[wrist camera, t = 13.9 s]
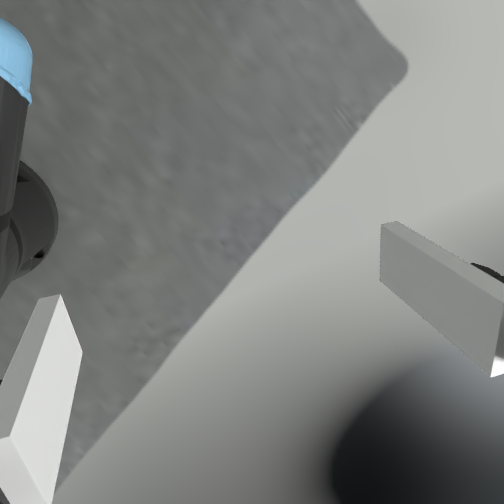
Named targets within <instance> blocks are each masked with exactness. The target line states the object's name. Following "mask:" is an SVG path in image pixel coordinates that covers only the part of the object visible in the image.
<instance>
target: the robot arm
mask: <svg viewBox="0 0 504 504" xmlns="http://www.w3.org/2000/svg"><path fill="white" fill-rule="evenodd" d="M31 70H32V51H31V48H30V46H29V44H28V42H27V40H26V39H25V37H24V36H23V35H22V34H21V32H20V31H19V30H18V29H17V28H16V27H14V26H13V25H12V24H10V23H9V22H7V21H6V20H4V19H3V18H1V17H0V298H1V297H2V295H3V293H4V292H5V290H6V288H7V287H8V285H9V284H10V282H11V281H12V280H15V279H17V278H19V277H21V276H23V275H25V274H27V273H29V272H30V271H32V270H33V269H34V268H35V267H36V266H38V265H39V264H40V263H41V262H42V260H43V259H44V258H45V257H46V255H47V254H48V252H49V250H50V248H51V246H52V244H53V243H54V240H55V237H56V234H57V230H58V212H57V207H56V204H55V201H54V199H53V196H52V194H51V192H50V191H49V189H48V187H47V186H46V184H45V183H44V182H43V180H42V179H41V178H40V177H39V176H38V175H37V174H36V173H35V172H34V171H33V170H32V169H31V168H29V167H28V166H27V165H25V164H24V163H22V162H21V161H20V155H21V148H22V141H23V135H24V128H25V121H26V115H27V108H28V105H30V104H31V102H32V99H31V94H30V93H29V90H30V80H31ZM380 281H381V282H383V284H385V285H386V286H387V287H388V288H389V289H390V290H391V291H393V292H394V293H395V294H396V295H397V296H398V297H399V298H401V299H402V300H403V301H404V302H405V303H406V304H407V305H409V306H410V307H411V308H412V309H413V310H414V311H415V312H417V313H418V314H419V315H420V316H421V317H422V318H423V319H425V320H426V321H427V322H428V323H429V324H430V325H431V326H433V327H434V328H435V329H436V330H437V331H438V332H439V333H440V334H442V335H443V336H444V337H445V338H446V339H447V340H449V341H450V342H451V343H452V344H453V345H454V346H456V347H457V348H458V349H459V350H460V351H461V352H462V353H463V354H464V355H466V356H467V357H468V358H469V359H470V360H471V361H473V362H474V363H475V364H476V365H477V366H478V367H479V368H480V369H482V370H483V371H484V372H485V373H486V374H487V375H488V376H490V377H494V376H497V375H500V374H503V373H504V276H501V275H500V274H499V273H497V272H495V271H493V270H491V269H490V268H488V267H484V266H481V265H478V264H475V263H470V264H469V263H468V262H466V261H464V260H462V259H461V258H459V257H458V256H456V255H454V254H453V253H451V252H449V251H447V250H446V249H444V248H442V247H441V246H439V245H437V244H435V243H434V242H432V241H430V240H429V239H427V238H425V237H423V236H422V235H420V234H418V233H417V232H415V231H413V230H411V229H409V228H408V227H406V226H405V225H403V224H401V223H400V222H398V221H395V222H390V223H385V224H382V225H381V242H380ZM82 353H83V352H82V350H81V347H80V344H79V342H78V339H77V336H76V334H75V331H74V328H73V326H72V323H71V321H70V318H69V315H68V313H67V310H66V307H65V305H64V302H63V299H62V297H61V294H59V295H54V296H50V297H45V298H40V299H39V300H38V302H37V304H36V306H35V309H34V311H33V313H32V315H31V318H30V320H29V322H28V324H27V327H26V329H25V331H24V333H23V336H22V338H21V340H20V342H19V345H18V347H17V349H16V351H15V354H14V356H13V358H12V360H11V363H10V365H9V367H8V369H7V372H6V374H5V376H4V378H3V380H0V504H52V499H53V494H54V489H55V484H56V479H57V474H58V470H59V465H60V460H61V455H62V450H63V445H64V440H65V436H66V431H67V426H68V421H69V416H70V411H71V406H72V401H73V397H74V392H75V387H76V382H77V377H78V372H79V367H80V363H81V358H82Z"/></svg>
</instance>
